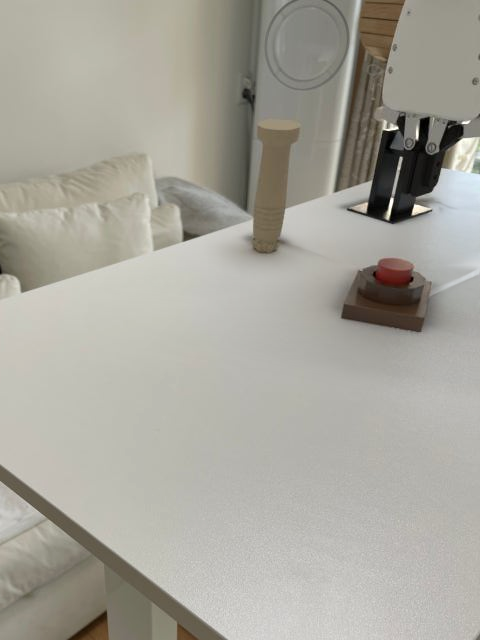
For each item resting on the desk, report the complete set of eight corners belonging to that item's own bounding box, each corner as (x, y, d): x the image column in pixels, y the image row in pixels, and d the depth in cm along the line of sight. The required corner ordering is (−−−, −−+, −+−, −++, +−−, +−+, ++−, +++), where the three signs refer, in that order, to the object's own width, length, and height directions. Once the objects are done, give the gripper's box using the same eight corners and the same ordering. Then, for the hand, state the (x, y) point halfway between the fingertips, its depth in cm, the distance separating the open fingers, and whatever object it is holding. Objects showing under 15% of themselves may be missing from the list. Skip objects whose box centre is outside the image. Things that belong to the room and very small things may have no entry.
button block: (355, 284, 75) (361, 254, 73) (427, 296, 73) (435, 266, 71) (340, 318, 68) (346, 287, 66) (420, 333, 65) (429, 301, 63)
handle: (285, 242, 86) (301, 120, 78) (281, 260, 81) (298, 131, 73) (249, 239, 87) (260, 118, 78) (243, 256, 82) (255, 128, 73)
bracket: (385, 204, 101) (402, 122, 95) (430, 217, 96) (452, 131, 90) (345, 216, 96) (361, 130, 89) (391, 230, 91) (411, 140, 84)
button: (377, 271, 70) (380, 255, 69) (411, 276, 69) (415, 260, 68) (372, 283, 68) (376, 267, 67) (408, 288, 67) (412, 272, 66)
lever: (418, 185, 101) (428, 165, 100) (436, 190, 99) (447, 169, 98) (384, 149, 91) (395, 127, 90) (404, 154, 89) (416, 131, 88)
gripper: (584, -35, 50) (509, 203, 61) (415, -37, 60) (375, 170, 70) (538, -35, 46) (467, 220, 57) (365, -37, 56) (332, 183, 67)
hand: (417, 192), depth 64 cm, fingers closed
